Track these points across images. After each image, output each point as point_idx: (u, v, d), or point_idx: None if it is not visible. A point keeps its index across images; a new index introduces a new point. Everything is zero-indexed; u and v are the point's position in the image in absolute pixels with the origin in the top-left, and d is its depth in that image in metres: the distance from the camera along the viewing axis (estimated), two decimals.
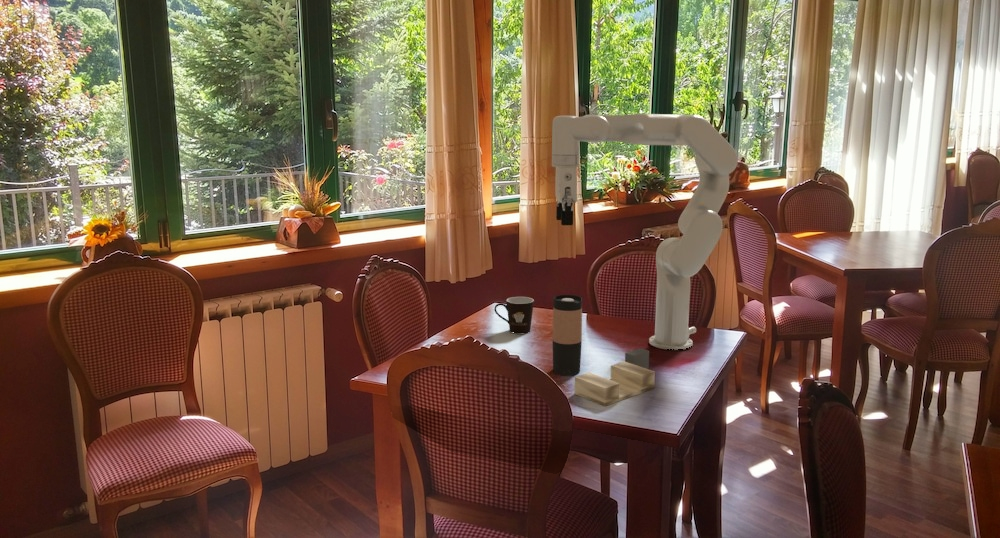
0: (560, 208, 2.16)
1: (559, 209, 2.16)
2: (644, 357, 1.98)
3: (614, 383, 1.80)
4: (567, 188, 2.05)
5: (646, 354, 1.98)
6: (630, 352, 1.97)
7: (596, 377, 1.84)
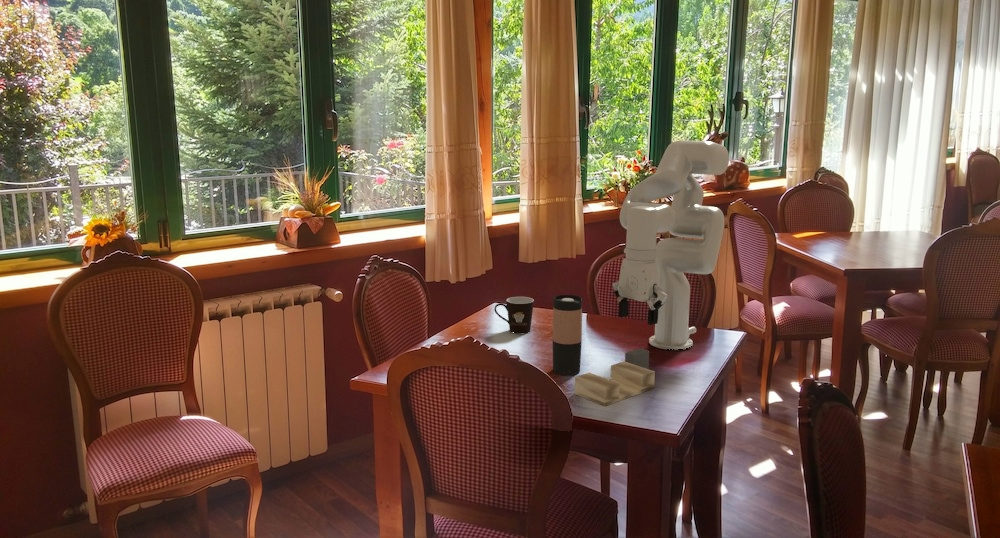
0: None
1: None
2: (644, 357, 1.98)
3: (614, 383, 1.80)
4: None
5: (646, 354, 1.98)
6: (630, 352, 1.97)
7: (596, 377, 1.84)
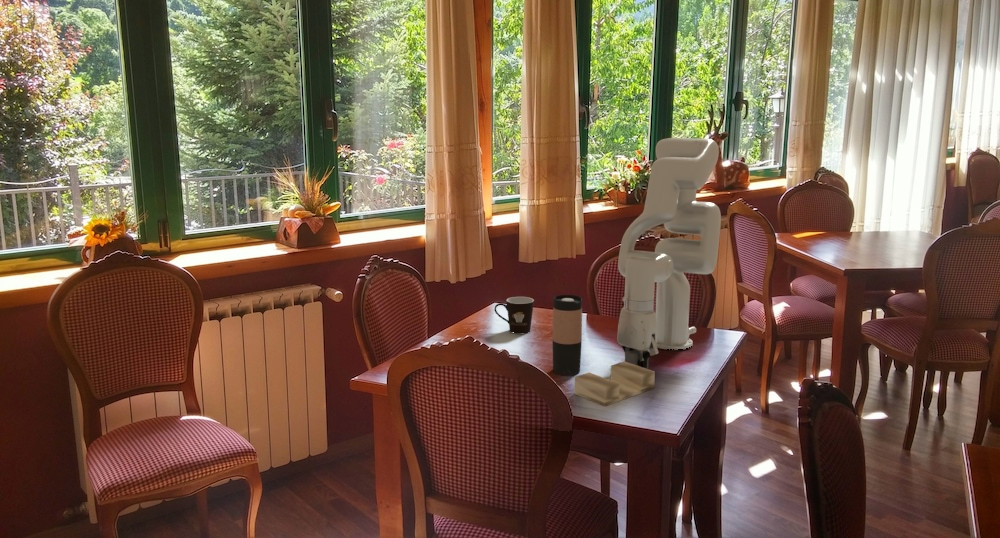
0: None
1: None
2: None
3: (614, 383, 1.80)
4: None
5: None
6: (630, 352, 1.97)
7: (596, 377, 1.84)
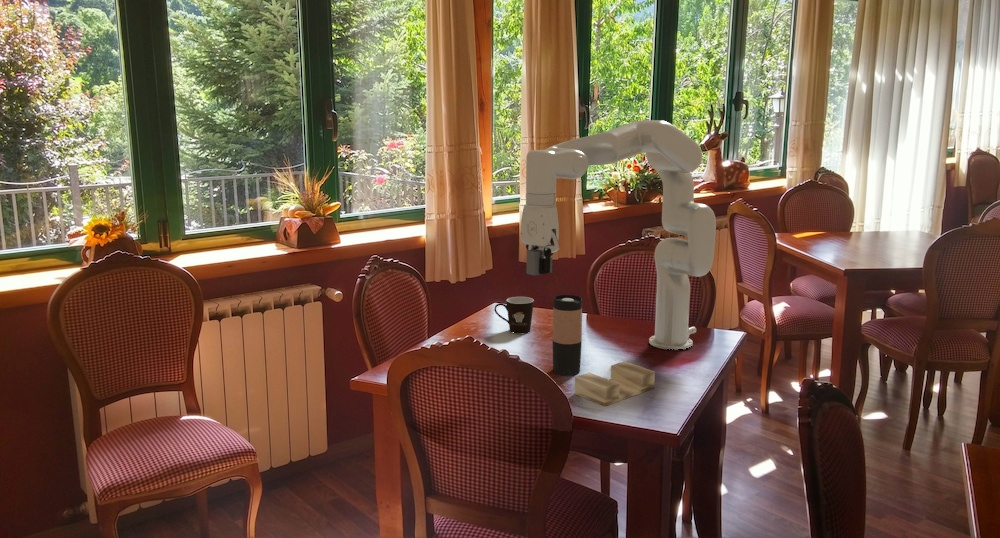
0: None
1: None
2: None
3: (614, 383, 1.80)
4: None
5: None
6: (532, 250, 1.90)
7: (596, 377, 1.84)
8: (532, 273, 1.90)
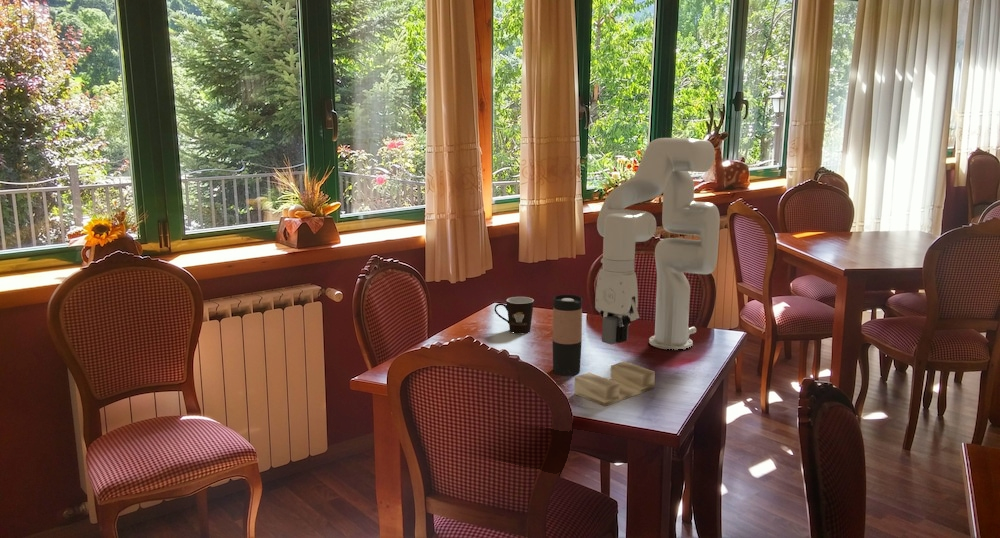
0: None
1: None
2: None
3: (614, 383, 1.80)
4: None
5: None
6: (608, 317, 1.82)
7: (596, 377, 1.84)
8: (609, 342, 1.81)
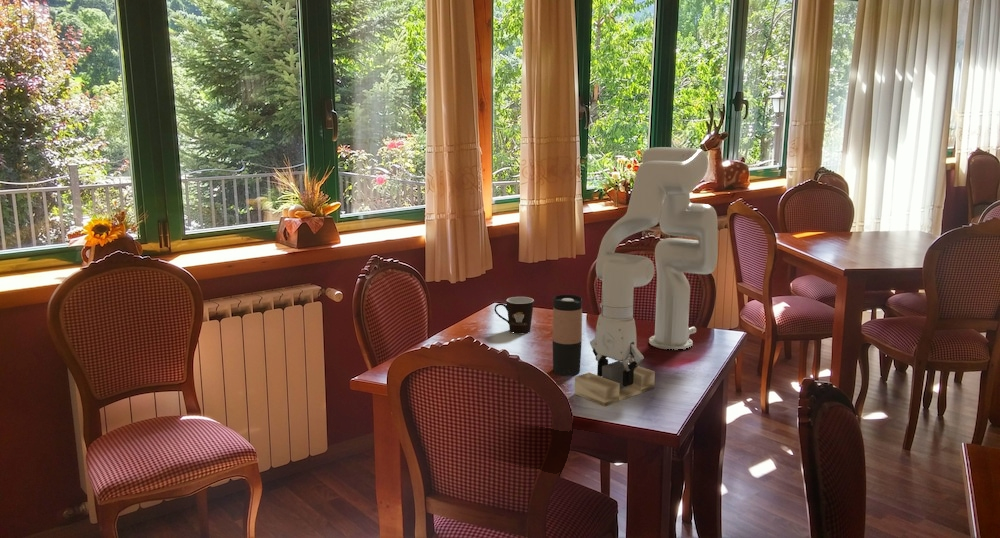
0: None
1: None
2: (622, 371, 1.85)
3: (614, 383, 1.80)
4: None
5: (624, 367, 1.85)
6: (607, 365, 1.85)
7: (596, 377, 1.84)
8: None
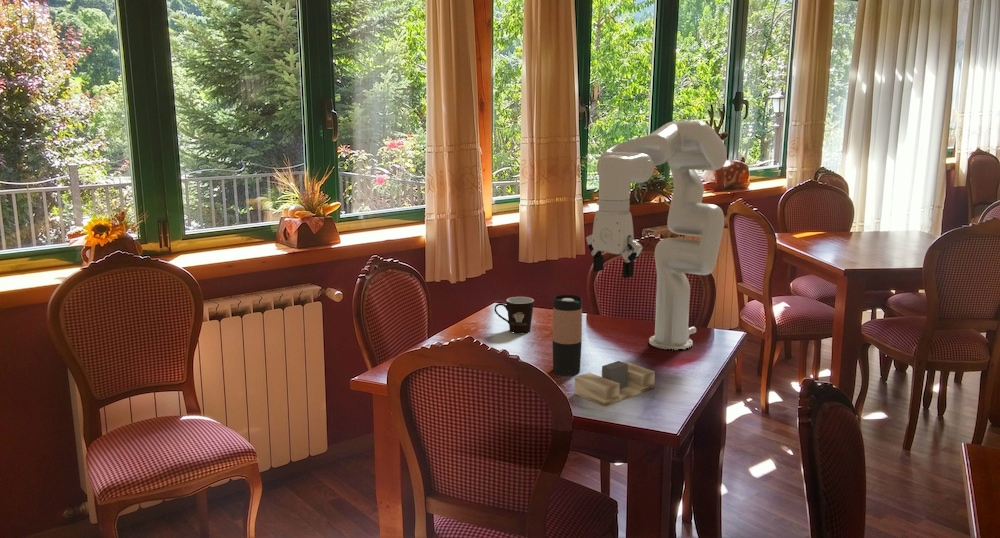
0: None
1: None
2: (622, 371, 1.85)
3: (614, 383, 1.80)
4: None
5: (624, 367, 1.85)
6: (607, 365, 1.85)
7: (596, 377, 1.84)
8: None
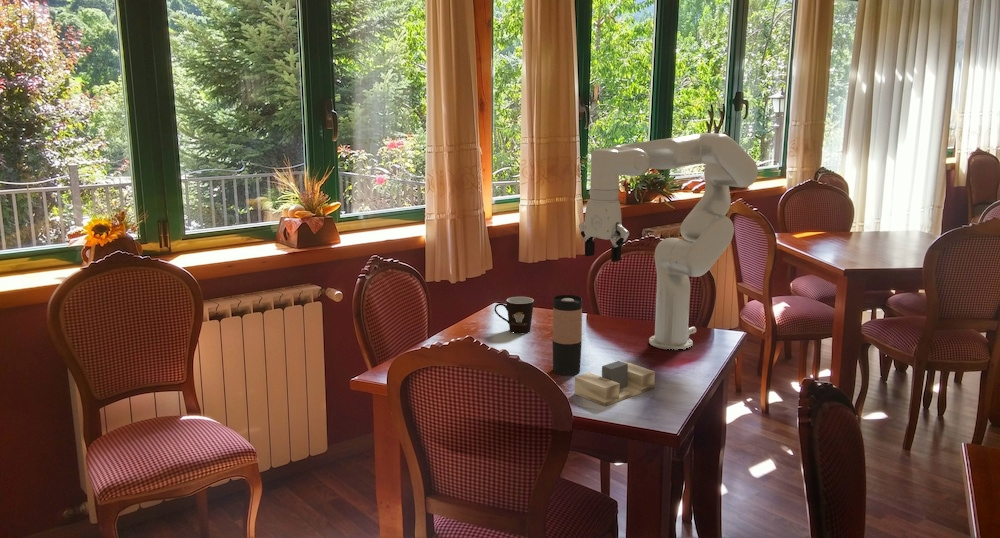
0: None
1: None
2: (622, 371, 1.85)
3: (614, 383, 1.80)
4: None
5: (624, 367, 1.85)
6: (607, 365, 1.85)
7: (596, 377, 1.84)
8: None
